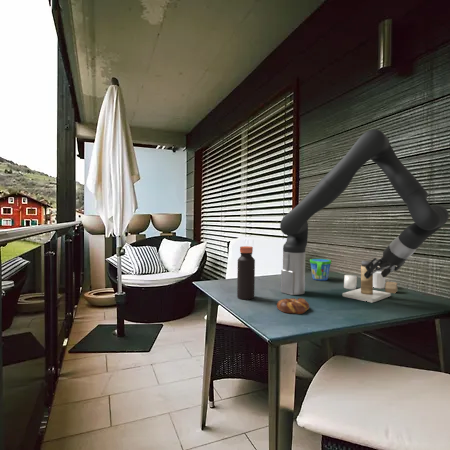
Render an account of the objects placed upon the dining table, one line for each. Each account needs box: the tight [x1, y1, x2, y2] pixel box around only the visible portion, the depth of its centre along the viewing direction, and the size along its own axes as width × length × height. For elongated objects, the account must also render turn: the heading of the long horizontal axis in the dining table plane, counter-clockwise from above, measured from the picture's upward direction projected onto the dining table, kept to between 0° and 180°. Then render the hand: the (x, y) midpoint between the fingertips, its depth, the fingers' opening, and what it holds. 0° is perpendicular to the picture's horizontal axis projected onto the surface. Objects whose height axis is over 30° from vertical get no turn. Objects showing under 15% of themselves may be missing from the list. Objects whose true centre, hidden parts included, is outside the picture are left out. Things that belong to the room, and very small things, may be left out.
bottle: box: [236, 245, 256, 301], centre depth 120 cm, size 7×7×20 cm
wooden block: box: [384, 281, 398, 294], centre depth 132 cm, size 4×4×4 cm
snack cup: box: [309, 258, 332, 282], centre depth 157 cm, size 16×10×10 cm
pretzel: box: [276, 297, 310, 315], centre depth 106 cm, size 12×11×4 cm
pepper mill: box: [360, 260, 374, 294], centre depth 124 cm, size 4×4×13 cm
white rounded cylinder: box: [343, 274, 358, 290], centre depth 138 cm, size 5×5×6 cm
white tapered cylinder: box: [373, 270, 387, 289], centre depth 141 cm, size 7×7×7 cm
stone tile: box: [341, 287, 392, 304], centre depth 124 cm, size 16×12×1 cm
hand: (374, 276), depth 121 cm, fingers open, 8 cm apart
